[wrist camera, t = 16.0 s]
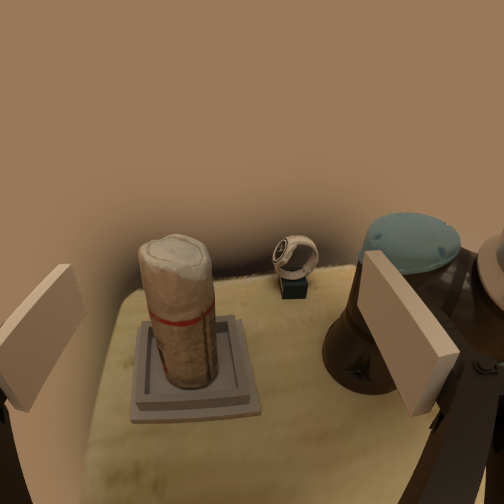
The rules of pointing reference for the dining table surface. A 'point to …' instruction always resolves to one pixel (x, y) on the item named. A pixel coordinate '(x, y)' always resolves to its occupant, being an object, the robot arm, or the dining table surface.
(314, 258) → the watch
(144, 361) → the holder dock
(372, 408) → the dining table surface
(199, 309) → the beige textured cylinder
